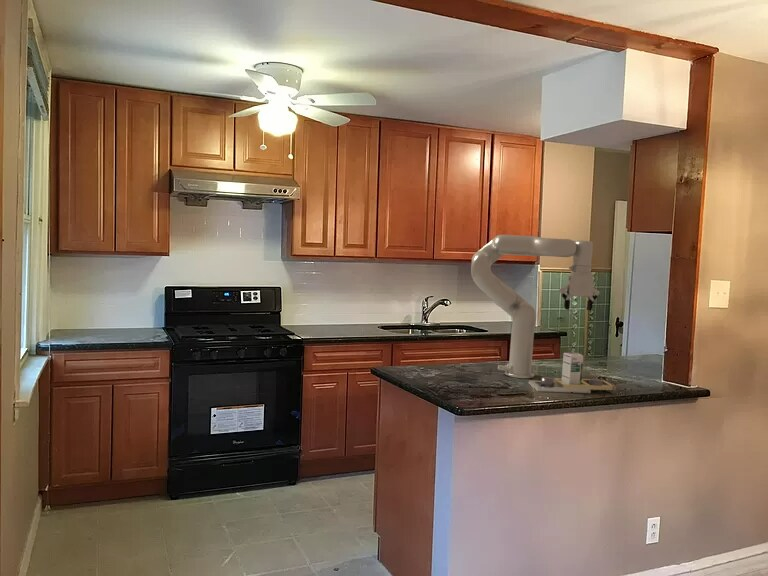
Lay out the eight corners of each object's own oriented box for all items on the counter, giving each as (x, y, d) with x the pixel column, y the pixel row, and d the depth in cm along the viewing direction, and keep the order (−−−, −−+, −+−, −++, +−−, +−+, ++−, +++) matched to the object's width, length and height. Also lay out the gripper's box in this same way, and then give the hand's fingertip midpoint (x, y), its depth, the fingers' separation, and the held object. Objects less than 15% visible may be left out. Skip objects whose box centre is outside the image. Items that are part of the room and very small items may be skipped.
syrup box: (568, 390, 245) (571, 354, 244) (560, 387, 251) (563, 351, 249) (581, 390, 246) (584, 355, 245) (573, 387, 252) (576, 352, 251)
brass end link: (562, 392, 242) (563, 382, 242) (552, 384, 254) (553, 375, 253) (615, 394, 244) (616, 384, 244) (602, 386, 255) (603, 377, 255)
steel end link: (537, 391, 241) (538, 381, 241) (528, 384, 253) (529, 374, 252) (590, 393, 243) (591, 383, 243) (579, 385, 254) (580, 376, 254)
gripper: (564, 269, 257) (561, 310, 259) (604, 271, 258) (601, 311, 260) (558, 268, 265) (555, 307, 266) (597, 270, 266) (594, 309, 267)
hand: (578, 309), depth 263 cm, fingers open, 9 cm apart
